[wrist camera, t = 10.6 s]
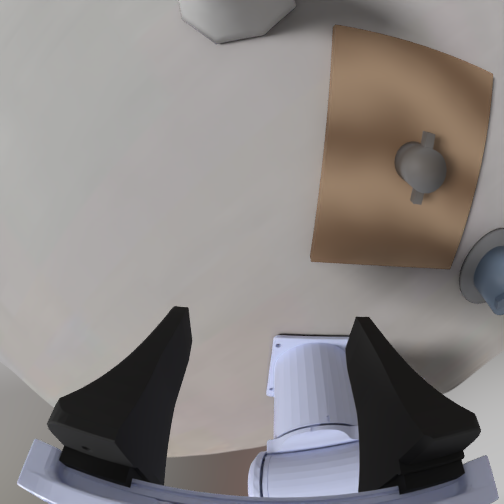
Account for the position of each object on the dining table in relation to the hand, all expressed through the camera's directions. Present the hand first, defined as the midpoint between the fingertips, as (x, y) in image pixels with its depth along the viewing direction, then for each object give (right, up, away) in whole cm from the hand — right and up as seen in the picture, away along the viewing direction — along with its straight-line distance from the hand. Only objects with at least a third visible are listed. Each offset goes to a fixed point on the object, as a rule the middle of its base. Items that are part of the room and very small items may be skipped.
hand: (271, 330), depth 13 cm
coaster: (+21, +2, +9) cm, 23 cm away
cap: (+21, +2, +9) cm, 23 cm away
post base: (+10, +10, +5) cm, 15 cm away
